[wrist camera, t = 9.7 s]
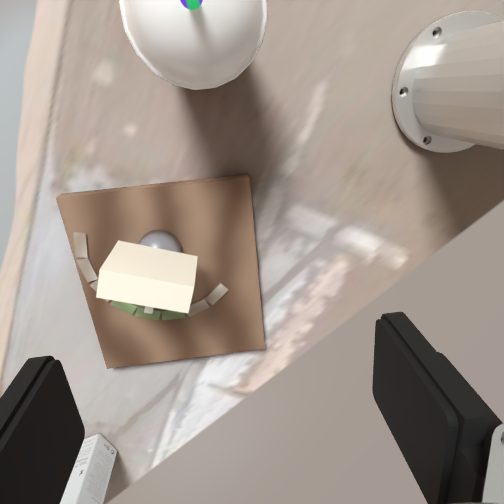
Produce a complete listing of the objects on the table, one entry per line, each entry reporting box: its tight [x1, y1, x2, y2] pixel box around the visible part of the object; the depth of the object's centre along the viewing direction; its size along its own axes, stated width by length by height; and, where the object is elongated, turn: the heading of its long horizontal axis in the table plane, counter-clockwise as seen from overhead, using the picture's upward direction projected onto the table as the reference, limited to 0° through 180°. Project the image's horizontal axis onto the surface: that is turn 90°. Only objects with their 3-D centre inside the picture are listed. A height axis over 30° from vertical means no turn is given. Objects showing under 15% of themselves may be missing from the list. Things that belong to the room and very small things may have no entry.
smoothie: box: [119, 0, 268, 90], centre depth 25 cm, size 8×8×20 cm
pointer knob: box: [96, 230, 198, 314], centre depth 37 cm, size 10×8×9 cm
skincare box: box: [60, 434, 117, 504], centre depth 47 cm, size 6×4×12 cm
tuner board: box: [56, 174, 265, 369], centre depth 42 cm, size 19×21×2 cm
